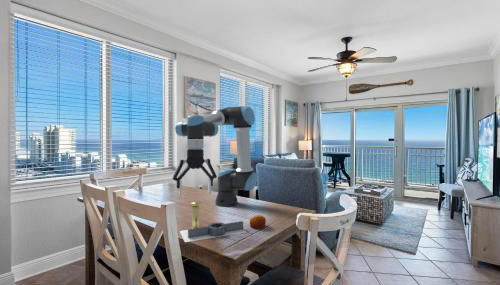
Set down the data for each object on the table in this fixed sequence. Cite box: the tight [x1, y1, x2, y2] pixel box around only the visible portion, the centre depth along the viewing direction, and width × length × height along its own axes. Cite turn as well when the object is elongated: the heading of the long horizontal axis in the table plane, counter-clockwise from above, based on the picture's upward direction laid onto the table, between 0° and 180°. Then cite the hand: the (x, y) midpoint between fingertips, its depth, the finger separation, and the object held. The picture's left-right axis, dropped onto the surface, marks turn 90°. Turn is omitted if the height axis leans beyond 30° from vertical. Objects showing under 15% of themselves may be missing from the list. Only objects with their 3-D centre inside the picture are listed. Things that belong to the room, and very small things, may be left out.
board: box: [179, 229, 247, 243], centre depth 118 cm, size 14×28×1 cm, turn 115°
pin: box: [190, 201, 201, 229], centre depth 120 cm, size 4×4×13 cm
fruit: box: [249, 214, 267, 230], centre depth 125 cm, size 8×8×8 cm
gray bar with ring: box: [187, 221, 244, 238], centre depth 116 cm, size 8×26×4 cm, turn 115°
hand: (195, 194), depth 119 cm, fingers open, 13 cm apart
